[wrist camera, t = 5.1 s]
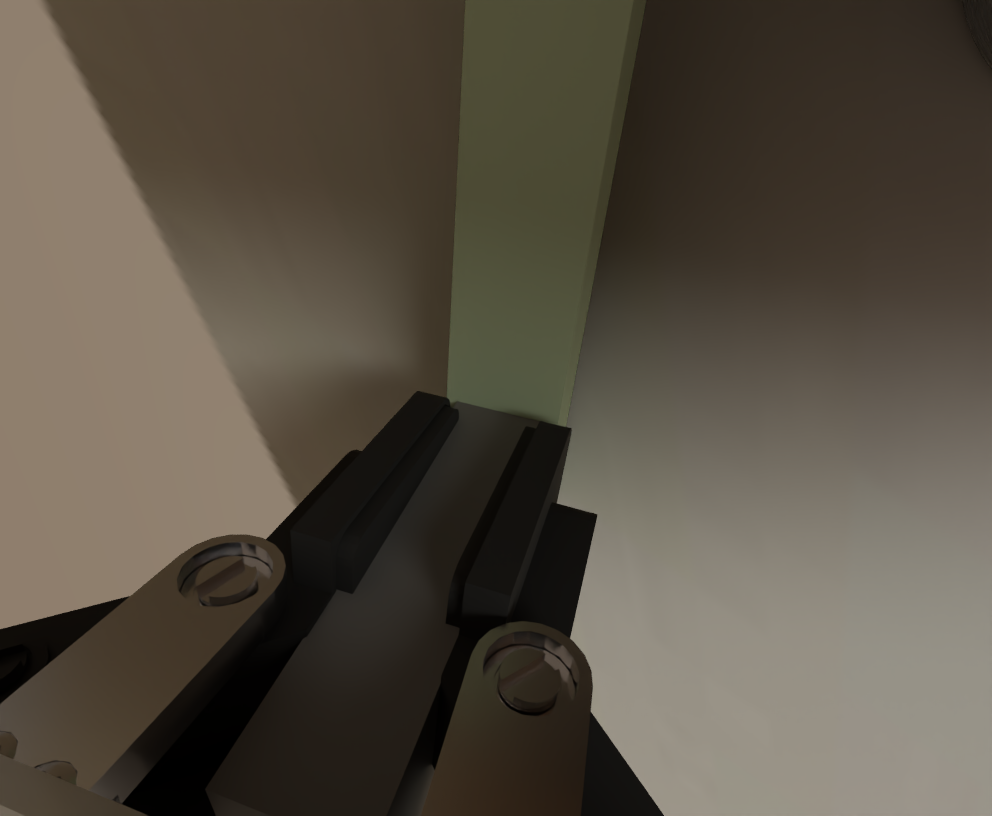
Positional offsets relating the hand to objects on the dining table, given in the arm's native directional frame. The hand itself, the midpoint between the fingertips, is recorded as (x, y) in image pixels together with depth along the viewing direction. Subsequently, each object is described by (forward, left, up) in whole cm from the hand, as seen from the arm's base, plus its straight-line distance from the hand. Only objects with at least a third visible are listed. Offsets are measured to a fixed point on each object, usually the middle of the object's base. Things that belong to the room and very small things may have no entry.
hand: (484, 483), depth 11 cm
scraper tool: (0, -4, -2) cm, 4 cm away
